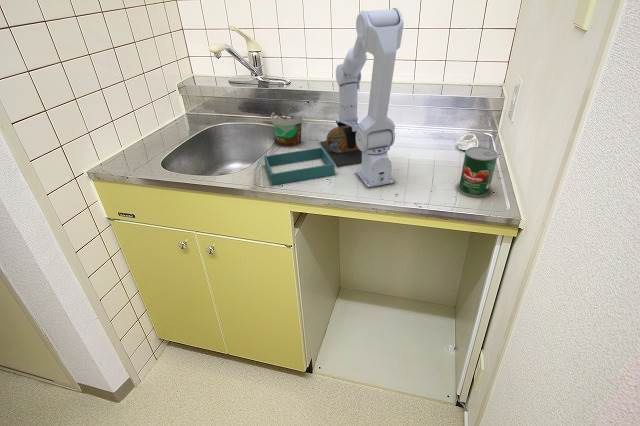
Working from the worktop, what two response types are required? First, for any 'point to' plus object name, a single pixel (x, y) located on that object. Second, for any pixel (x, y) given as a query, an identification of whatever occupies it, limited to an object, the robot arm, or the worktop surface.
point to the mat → (344, 156)
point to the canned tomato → (477, 171)
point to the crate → (299, 173)
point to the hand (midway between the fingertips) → (348, 144)
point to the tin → (338, 140)
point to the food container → (287, 129)
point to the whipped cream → (468, 142)
